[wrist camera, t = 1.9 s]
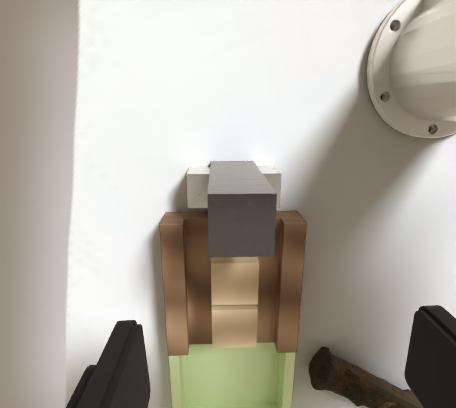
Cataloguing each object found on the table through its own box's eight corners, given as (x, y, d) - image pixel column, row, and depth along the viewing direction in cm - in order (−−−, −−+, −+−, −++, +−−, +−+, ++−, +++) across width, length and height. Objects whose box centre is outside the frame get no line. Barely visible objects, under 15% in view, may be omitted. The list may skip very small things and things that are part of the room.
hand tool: (302, 364, 37) (313, 399, 32) (322, 340, 36) (337, 373, 32) (419, 422, 40) (444, 461, 36) (440, 401, 39) (468, 439, 35)
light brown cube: (211, 243, 29) (211, 263, 26) (253, 243, 30) (259, 262, 26) (212, 281, 31) (211, 305, 27) (252, 280, 31) (257, 304, 27)
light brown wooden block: (212, 285, 31) (211, 310, 27) (252, 284, 31) (257, 309, 27) (212, 319, 32) (212, 348, 28) (251, 318, 32) (256, 347, 28)
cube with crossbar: (189, 161, 29) (172, 194, 18) (274, 161, 29) (311, 193, 18) (190, 202, 30) (175, 258, 19) (272, 201, 31) (306, 255, 19)
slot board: (165, 212, 30) (159, 225, 27) (296, 211, 31) (306, 223, 28) (172, 332, 35) (168, 355, 31) (288, 329, 35) (296, 352, 32)
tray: (172, 332, 35) (168, 353, 31) (288, 329, 35) (295, 350, 32) (177, 408, 38) (173, 434, 35) (283, 404, 38) (289, 430, 35)
